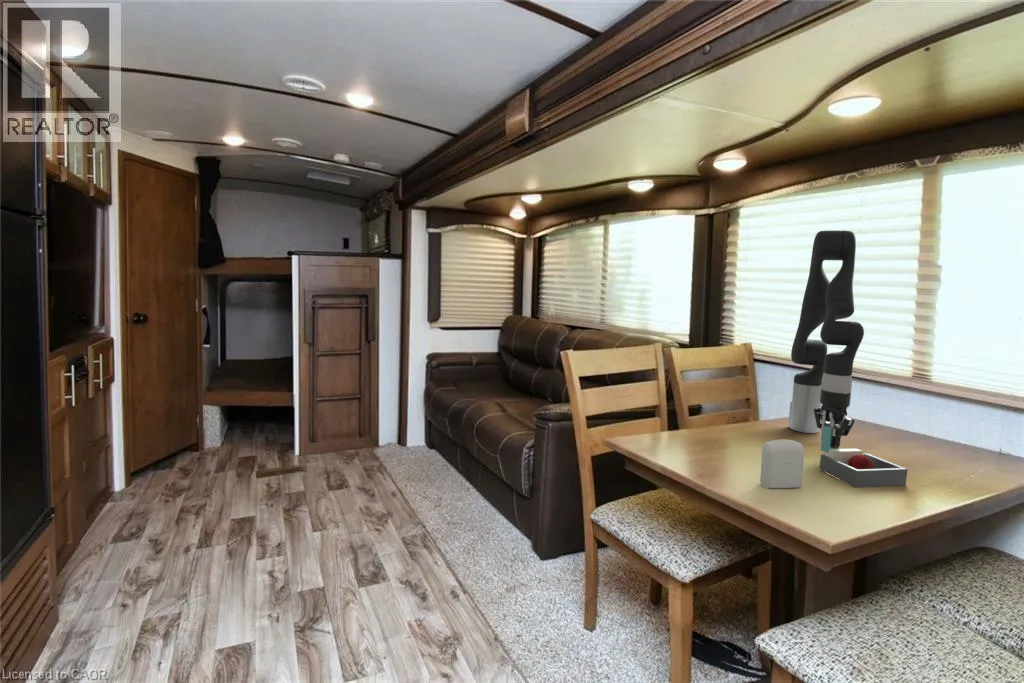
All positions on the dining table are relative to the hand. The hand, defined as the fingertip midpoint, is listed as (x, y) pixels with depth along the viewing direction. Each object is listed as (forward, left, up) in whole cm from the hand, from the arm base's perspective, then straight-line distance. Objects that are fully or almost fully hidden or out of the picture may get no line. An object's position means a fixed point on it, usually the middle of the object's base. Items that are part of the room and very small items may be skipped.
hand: (830, 445), depth 156 cm
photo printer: (+15, -27, -5) cm, 32 cm away
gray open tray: (+11, 0, -5) cm, 13 cm away
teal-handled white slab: (+3, 0, -4) cm, 5 cm away
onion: (+7, +1, -2) cm, 7 cm away
